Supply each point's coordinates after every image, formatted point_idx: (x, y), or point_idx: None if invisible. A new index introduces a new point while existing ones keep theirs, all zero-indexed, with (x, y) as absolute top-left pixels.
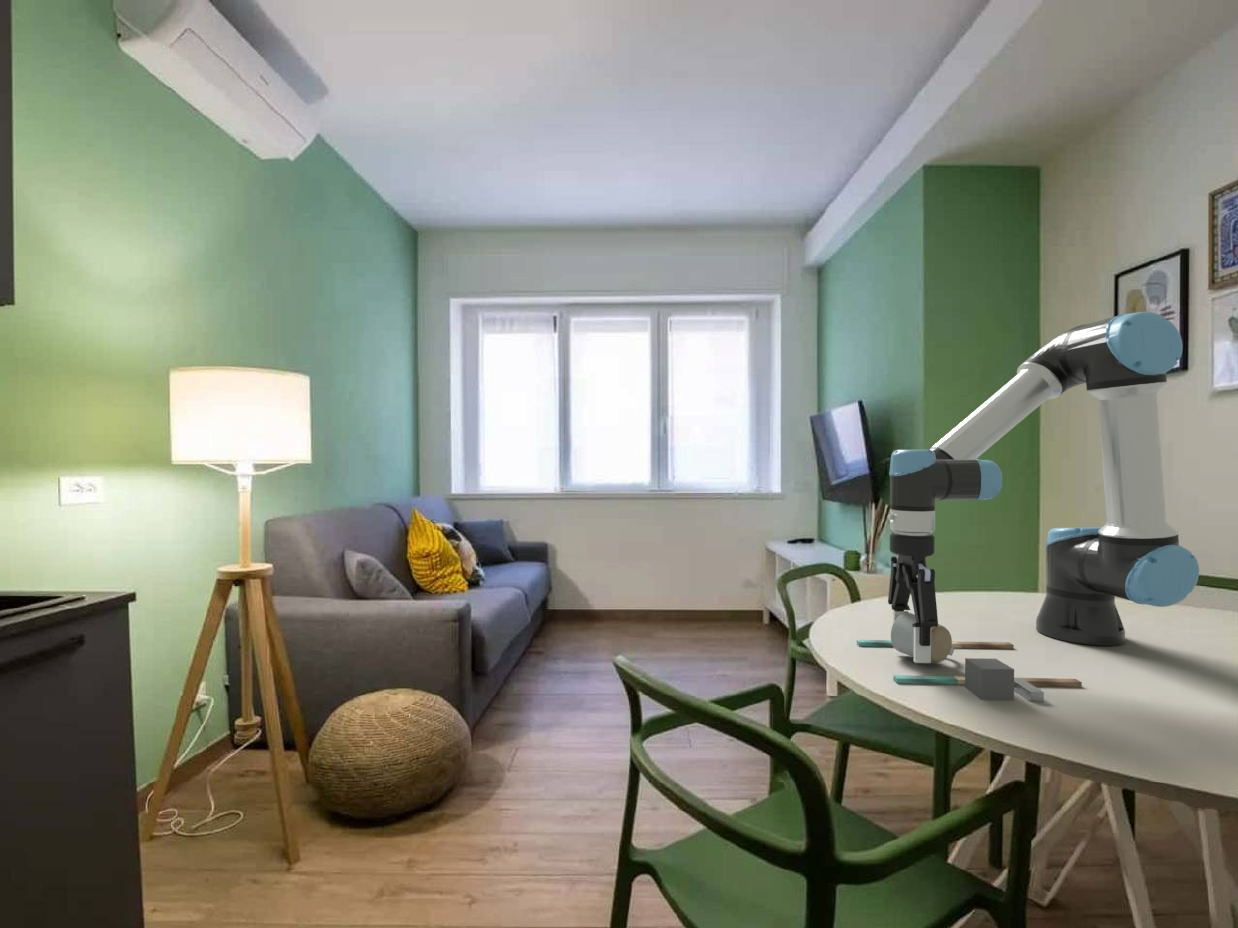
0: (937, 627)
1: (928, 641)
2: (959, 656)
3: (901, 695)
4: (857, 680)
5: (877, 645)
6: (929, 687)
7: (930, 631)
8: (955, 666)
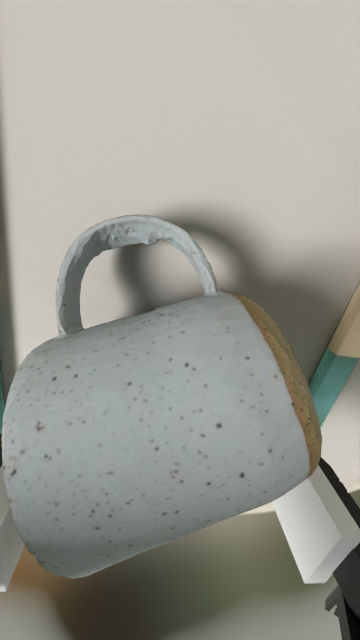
0: (316, 463)
1: (331, 479)
2: (119, 150)
3: (340, 477)
4: (251, 512)
5: (3, 404)
6: (333, 418)
7: (342, 506)
8: (228, 260)
